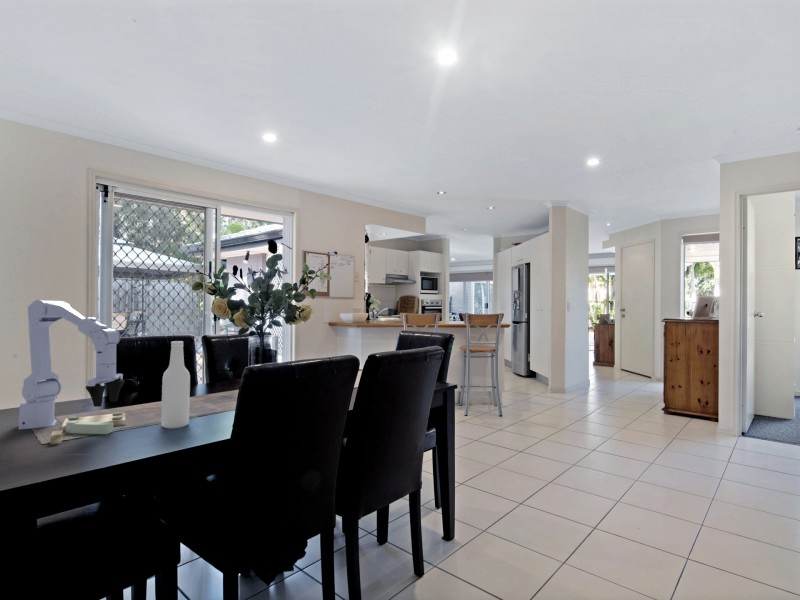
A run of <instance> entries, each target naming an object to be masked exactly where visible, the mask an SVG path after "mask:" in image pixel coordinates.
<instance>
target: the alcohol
mask: <svg viewBox="0 0 800 600" xmlns="http://www.w3.org/2000/svg"><path fill="white" fill-rule="evenodd" d="M170 344H171V345H170V347H171V349H170V355H169V356H170V357H169V358H170V359H169V364H168V367H167V369H166V370H165V371H164V372H163V376H162V380H161V381H162V384H161V388H162V389H161V393H162V394H161V419H160V421H161V423H160V424H161V427H162V428H166V429H170V430H171V429H172V430H173V429H181V428H184V427H187V425H188V424H189V423H190V403H191V402H190V396H191V395H190V393H191V374H190V372H189V370H188V368H187V367H186V366H185V359H184V357H185V355H184V347H185V346H184V341H182V340H174V341H171V342H170Z"/></svg>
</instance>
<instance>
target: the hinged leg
mask: <svg viewBox="0 0 800 600" xmlns="http://www.w3.org/2000/svg"><path fill="white" fill-rule="evenodd" d="M113 432H114V426H113V423H110V422H78V421H70V422H67V423H66V431H65V433H66V434H83V435H85V434H87V435H88V434H89V435H108V434H110V433H113Z"/></svg>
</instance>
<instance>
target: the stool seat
mask: <svg viewBox="0 0 800 600" xmlns="http://www.w3.org/2000/svg"><path fill="white" fill-rule="evenodd" d="M70 421H78V422H110V423H113V427H116V426H117V427H118V426H124V425H126V422H127V421H126V412H122V411H120V412H119V411H117V412H113V413H108V414H100V415H99V414H98V415H97V414H96V415H88V416H69V417H68V418H67V417H65V419H64V421H63V423H62V425H61V428H60V430H53V431H52V433H51V434H50V443H49V444H50V445H51V446H52V445H58V444H60V445H61V443H62V441H63V433H64V432H66V423H67V422H70Z"/></svg>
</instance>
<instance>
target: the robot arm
mask: <svg viewBox="0 0 800 600" xmlns="http://www.w3.org/2000/svg"><path fill="white" fill-rule="evenodd" d="M27 315H28V317H27V318H28V336H29V349H30V350H29V351H30V354H29V355H30V366H31V367H30V368H31V370H30V371H31V374H29V375H28V376H27V377H25V378H24V380H23V385H22V386H23V387H22V389H21V395H22V397H23V398H24V400H25V401H21V402H20V404H19V412H18V430H26V429H35V428H36V429H37V428H44V427H45V428H46V427H54V426H55V425H56V423H57V421H58V420H57V419H55V411H56V410H55V407H56V405H55V404H56V401H55V400H56V399H57V398H58V395H60V393H61V391H62V384H61V382H60V380H59V375H58V374H57V373H55V372H54V371H53V370H52V359H51V355H52V354H51V344H50V327H51V326H52V325H53V324H55V323H57V322H58V321H59V320H62V319H64V320H66V321H68V322H70V323H71V324H74V325H76V326H77V329H78V332H81V334H83V335H85V336H87V338H89V339H91V343H92V344H93V345H94V351H95V377H94V378H90V379H88V380H87V383H86V384H87V385H86V386H85V389H86V392H87V393H88V394H89V396H90V398H91V400H92V404H93V407H95V408H97V407H98V408H101V407H102V405H103V397H104V393H105V390H106V388H107V390H108V399H109V402H110V403H111V402H113V403H116V402H118V399H119V396H120V392H121V389H122V388H123V386H124V385H125V379H123V378H124V377H123V376H124V374H123V373H117V344H119V343H120V341H121V338H122V336H121V333H120V331H119V330H118V329H117V328H114V327H112V328H109V327H108V325H106V324H103V323H101V322H100V321H98V319H97V318H96V317H89V316H88V317H85V316H83V315H82V314H81V313H80V312H78V311H77V310H76V309H74V308H73V307H71V304H70V303H68V302H66V301H64V300H62V299H61V300H41V299H36V300H34V301H32V302H31V303H30V304H29V305H28V307H27ZM102 384H106V385H102Z"/></svg>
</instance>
